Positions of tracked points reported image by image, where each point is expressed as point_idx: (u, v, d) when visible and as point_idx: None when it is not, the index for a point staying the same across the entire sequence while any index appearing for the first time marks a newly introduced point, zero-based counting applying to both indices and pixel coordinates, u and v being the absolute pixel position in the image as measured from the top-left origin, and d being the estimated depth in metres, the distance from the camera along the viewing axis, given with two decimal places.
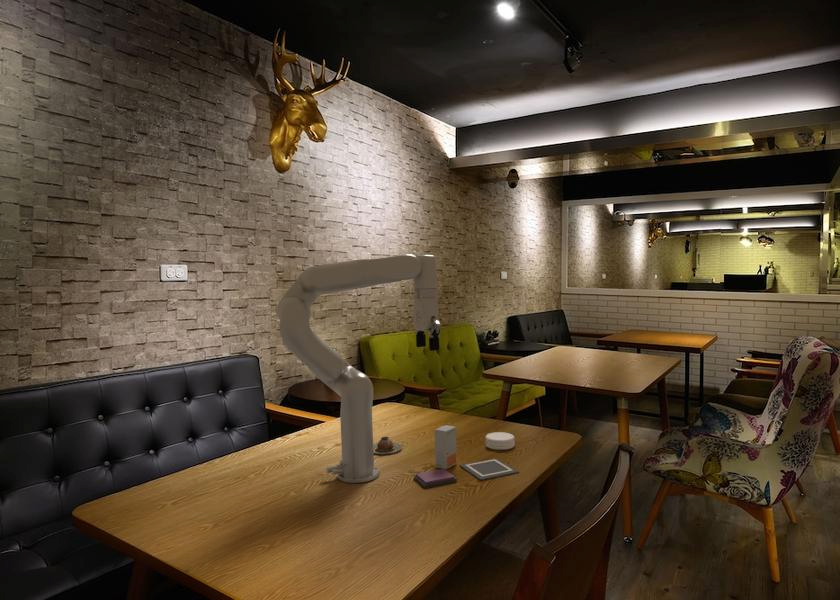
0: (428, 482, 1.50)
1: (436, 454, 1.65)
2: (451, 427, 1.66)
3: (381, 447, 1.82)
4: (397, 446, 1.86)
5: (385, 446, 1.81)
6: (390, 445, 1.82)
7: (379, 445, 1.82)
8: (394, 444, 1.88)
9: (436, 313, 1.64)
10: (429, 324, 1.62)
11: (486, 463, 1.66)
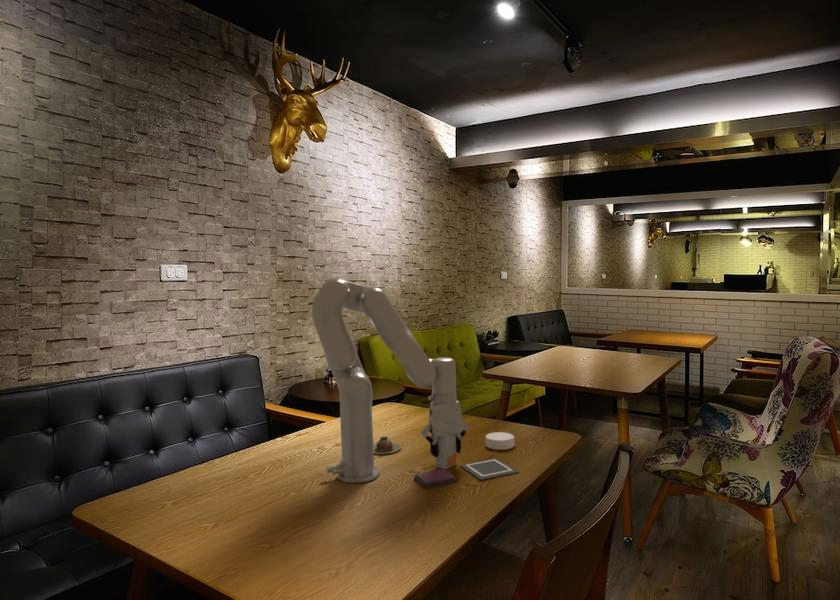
0: (428, 482, 1.50)
1: None
2: None
3: (380, 447, 1.82)
4: (396, 446, 1.86)
5: (384, 446, 1.82)
6: (389, 445, 1.82)
7: (378, 445, 1.82)
8: (393, 444, 1.88)
9: None
10: None
11: (486, 463, 1.66)
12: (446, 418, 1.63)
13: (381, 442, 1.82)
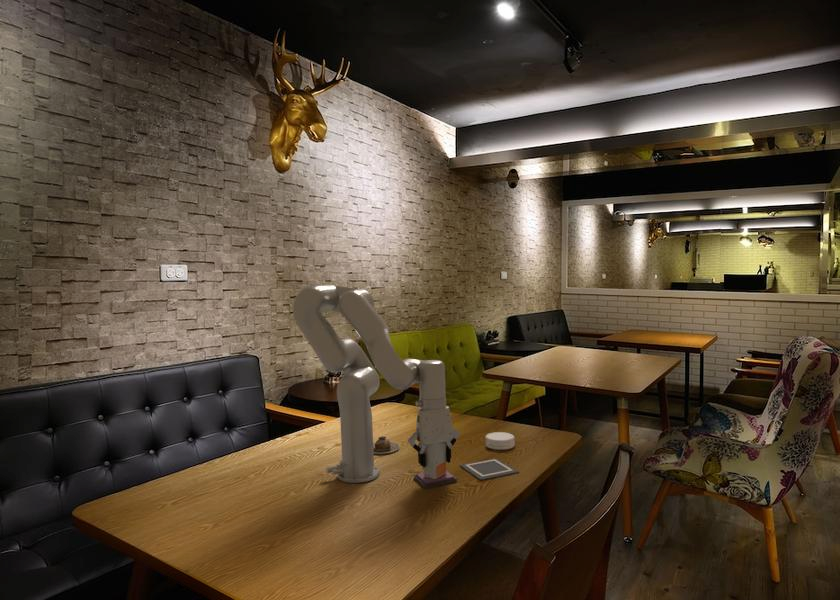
0: (428, 482, 1.50)
1: None
2: None
3: (379, 447, 1.82)
4: (394, 446, 1.86)
5: (383, 446, 1.82)
6: (387, 445, 1.83)
7: (376, 445, 1.82)
8: (391, 444, 1.88)
9: None
10: None
11: (486, 463, 1.66)
12: (435, 425, 1.51)
13: (379, 442, 1.82)
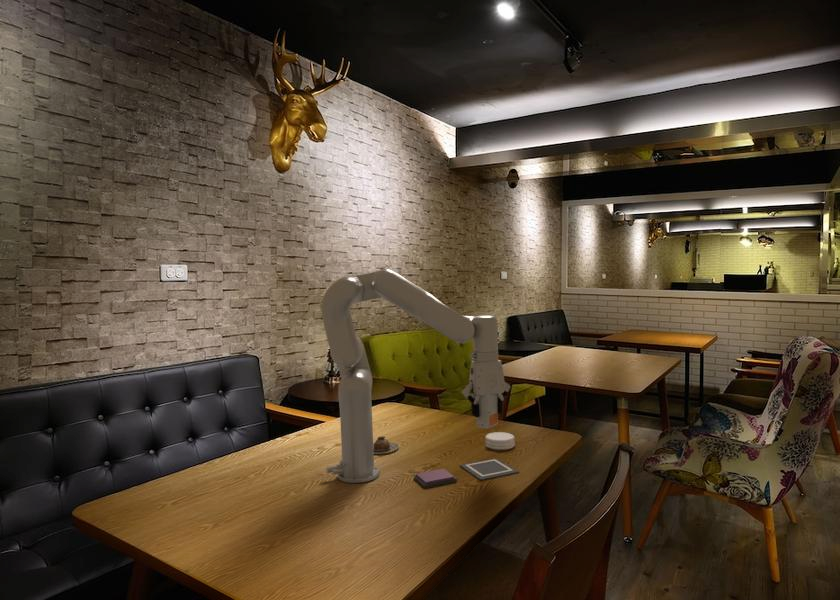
0: (428, 482, 1.50)
1: None
2: None
3: (378, 447, 1.82)
4: (393, 446, 1.86)
5: (382, 446, 1.82)
6: (387, 445, 1.83)
7: (376, 445, 1.82)
8: (390, 444, 1.88)
9: None
10: None
11: (486, 463, 1.66)
12: (488, 377, 1.58)
13: (378, 442, 1.83)
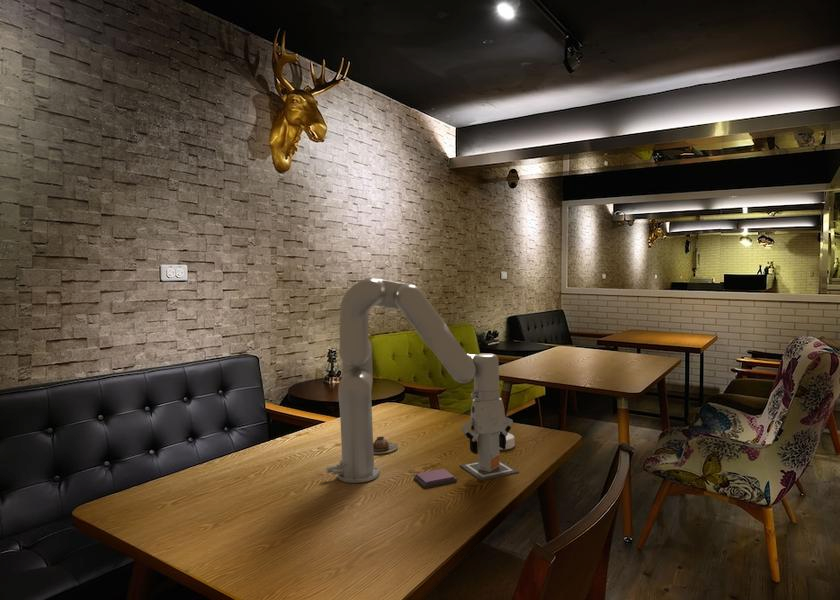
0: (428, 482, 1.50)
1: (479, 456, 1.61)
2: None
3: (377, 447, 1.82)
4: (392, 446, 1.86)
5: (381, 446, 1.82)
6: (386, 445, 1.83)
7: (375, 445, 1.83)
8: (389, 444, 1.88)
9: None
10: None
11: None
12: (489, 416, 1.58)
13: (377, 442, 1.83)
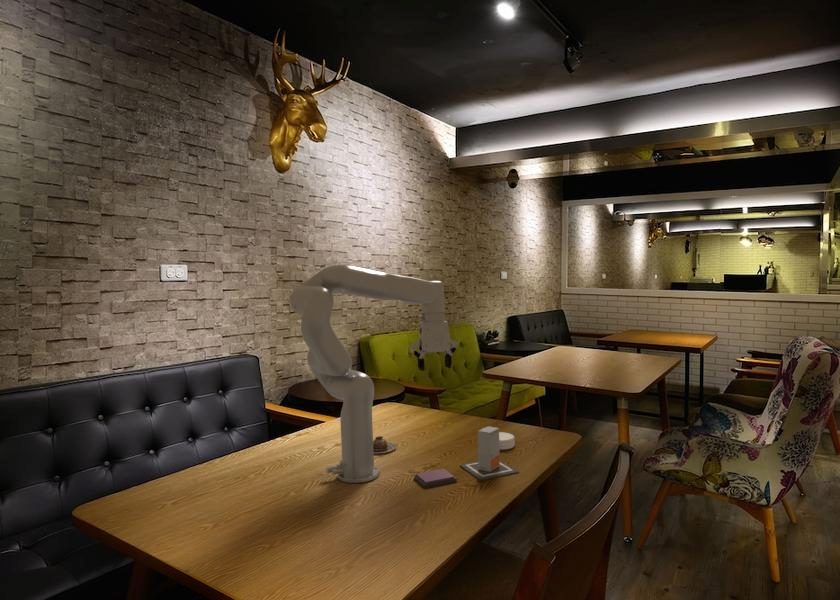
0: (428, 482, 1.50)
1: (479, 456, 1.61)
2: (494, 428, 1.62)
3: (375, 447, 1.82)
4: (391, 446, 1.86)
5: (379, 446, 1.82)
6: (384, 445, 1.83)
7: (373, 445, 1.83)
8: (388, 444, 1.88)
9: None
10: None
11: None
12: (435, 335, 1.75)
13: (376, 442, 1.83)
